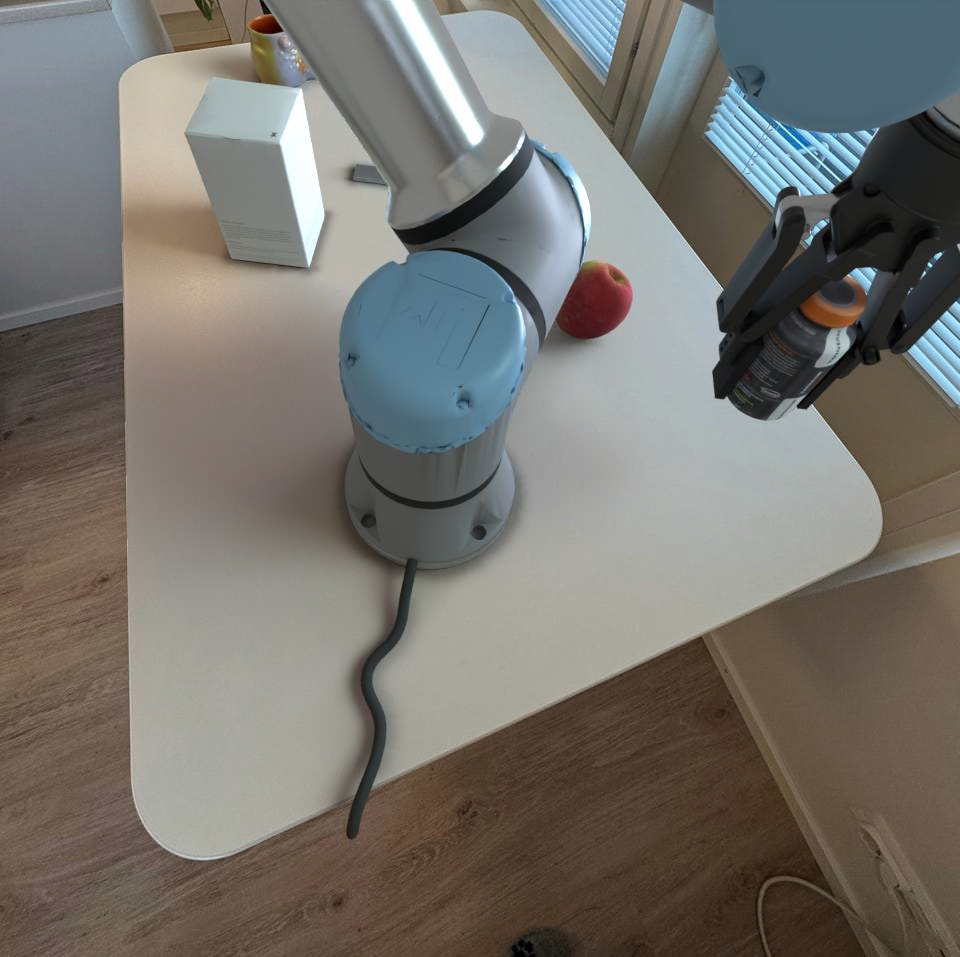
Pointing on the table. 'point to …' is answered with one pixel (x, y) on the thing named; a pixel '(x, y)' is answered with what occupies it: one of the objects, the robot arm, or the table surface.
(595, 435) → the table surface
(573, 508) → the table surface
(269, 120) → the rectangular carton
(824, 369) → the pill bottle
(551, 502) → the table surface
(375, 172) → the wooden handled blade
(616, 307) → the apple
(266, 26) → the mug
